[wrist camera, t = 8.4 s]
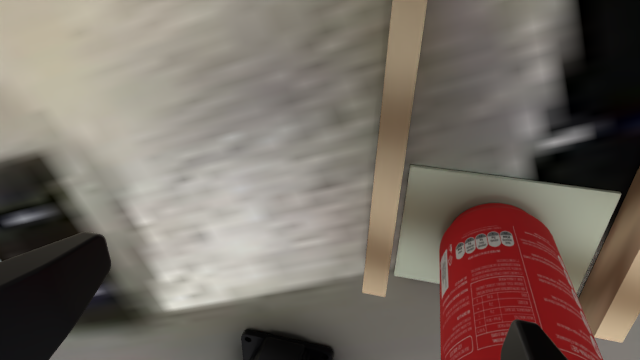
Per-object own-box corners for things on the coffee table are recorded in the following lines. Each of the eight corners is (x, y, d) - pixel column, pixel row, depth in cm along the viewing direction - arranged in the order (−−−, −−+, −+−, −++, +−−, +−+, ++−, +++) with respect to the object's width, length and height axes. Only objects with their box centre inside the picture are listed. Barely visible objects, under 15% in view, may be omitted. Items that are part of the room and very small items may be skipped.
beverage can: (553, 192, 19) (690, 475, 9) (547, 279, 21) (650, 584, 11) (435, 197, 21) (436, 443, 10) (442, 278, 23) (448, 545, 13)
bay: (600, 310, 22) (630, 377, 18) (367, 268, 24) (356, 321, 21) (843, -171, 12) (1004, -217, 9) (414, -162, 14) (408, -197, 11)
